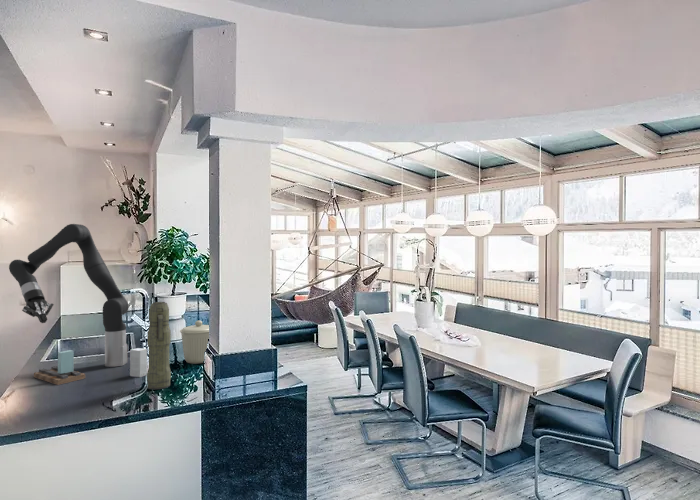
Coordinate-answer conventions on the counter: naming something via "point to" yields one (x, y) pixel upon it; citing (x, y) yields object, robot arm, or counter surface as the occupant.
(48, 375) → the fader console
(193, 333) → the canister
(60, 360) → the fader tab
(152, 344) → the thermos
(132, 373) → the skincare box
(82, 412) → the counter surface
